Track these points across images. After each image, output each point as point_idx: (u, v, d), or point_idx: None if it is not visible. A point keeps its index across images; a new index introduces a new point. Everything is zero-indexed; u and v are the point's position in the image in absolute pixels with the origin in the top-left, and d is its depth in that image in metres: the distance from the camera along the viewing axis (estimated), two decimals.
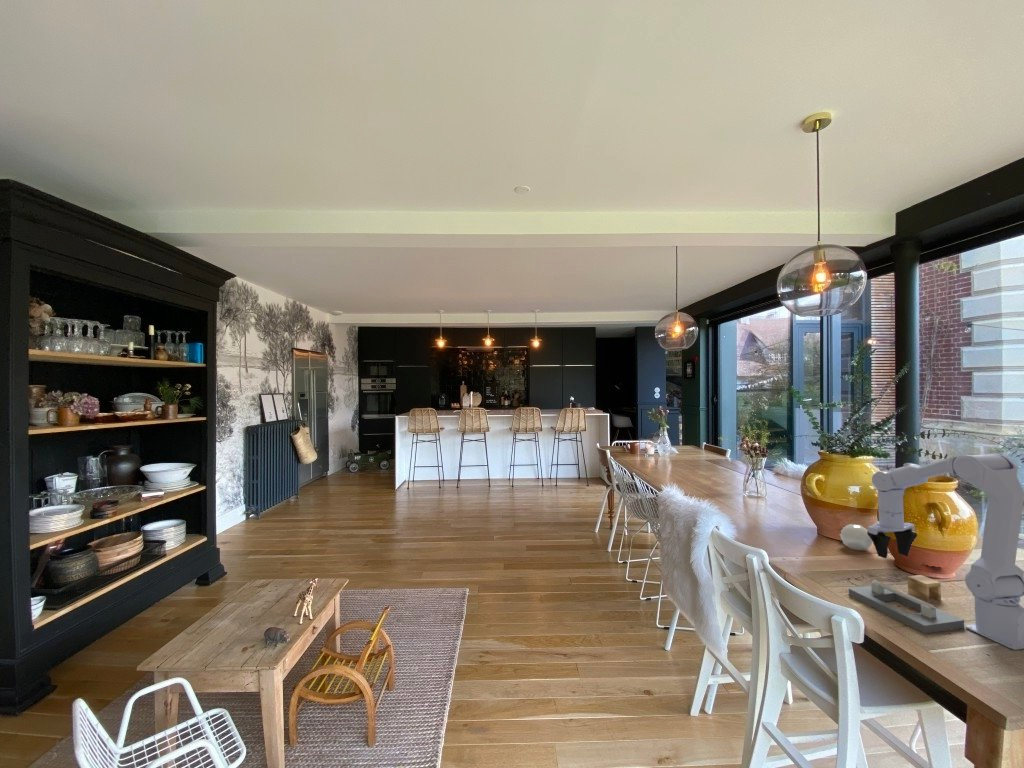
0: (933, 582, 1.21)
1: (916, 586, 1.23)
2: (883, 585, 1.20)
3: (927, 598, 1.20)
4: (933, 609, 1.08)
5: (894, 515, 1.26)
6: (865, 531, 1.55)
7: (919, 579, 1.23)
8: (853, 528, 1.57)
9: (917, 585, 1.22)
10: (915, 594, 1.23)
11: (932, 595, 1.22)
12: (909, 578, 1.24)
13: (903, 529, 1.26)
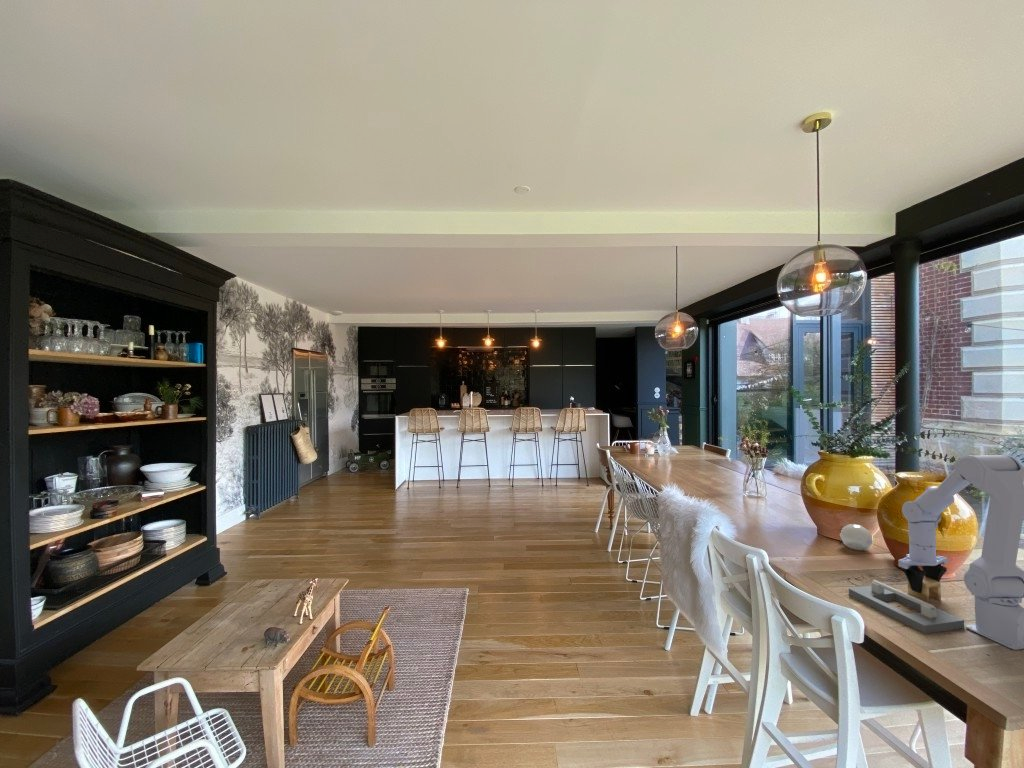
0: (933, 582, 1.21)
1: None
2: (883, 585, 1.20)
3: (927, 598, 1.20)
4: (933, 609, 1.08)
5: (926, 549, 1.20)
6: (865, 531, 1.55)
7: None
8: (853, 528, 1.57)
9: None
10: (915, 594, 1.23)
11: (932, 595, 1.22)
12: None
13: (936, 563, 1.20)
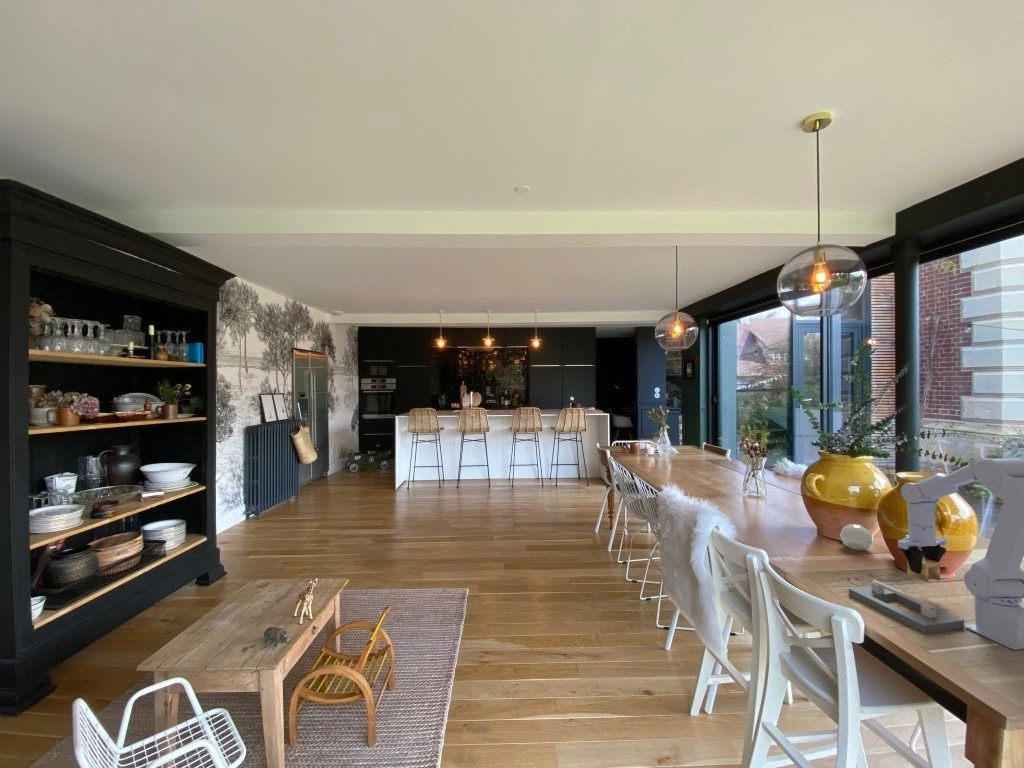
0: (932, 562, 1.21)
1: None
2: (883, 585, 1.20)
3: (926, 578, 1.20)
4: (933, 609, 1.08)
5: (925, 529, 1.21)
6: (865, 531, 1.55)
7: None
8: (853, 528, 1.57)
9: None
10: (914, 575, 1.23)
11: (932, 576, 1.22)
12: None
13: (935, 544, 1.20)
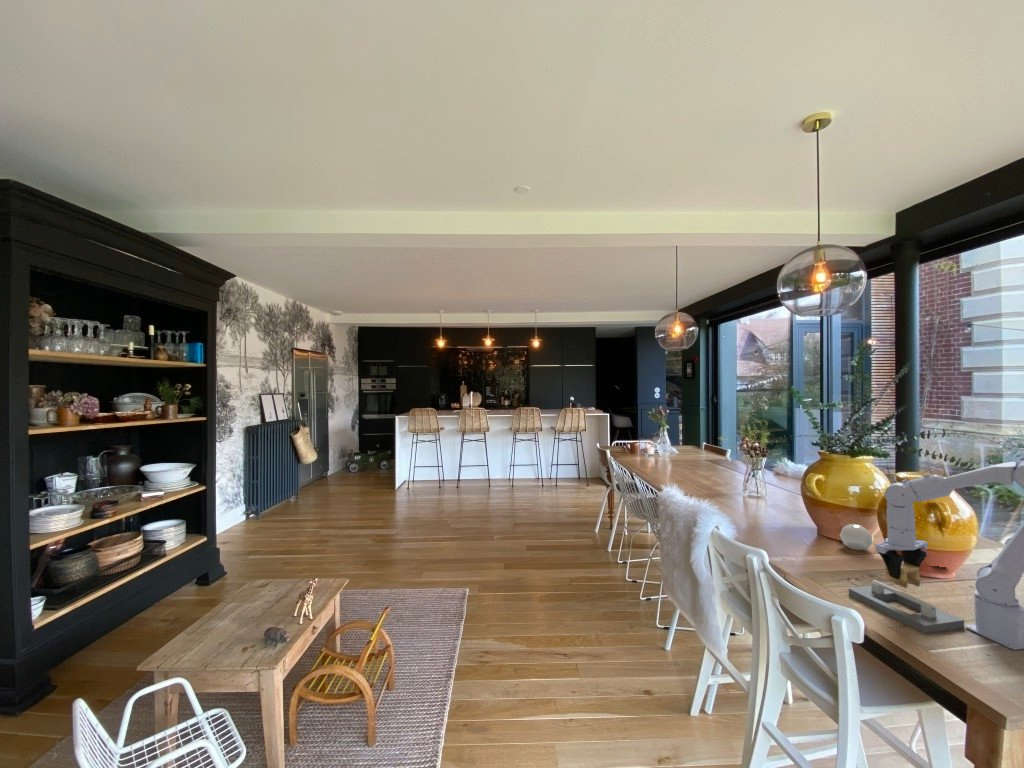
0: (911, 567, 1.15)
1: None
2: (883, 585, 1.20)
3: (905, 584, 1.14)
4: (933, 609, 1.08)
5: (905, 532, 1.14)
6: (865, 531, 1.55)
7: None
8: (853, 528, 1.57)
9: None
10: (893, 580, 1.17)
11: (911, 581, 1.16)
12: None
13: (915, 548, 1.14)
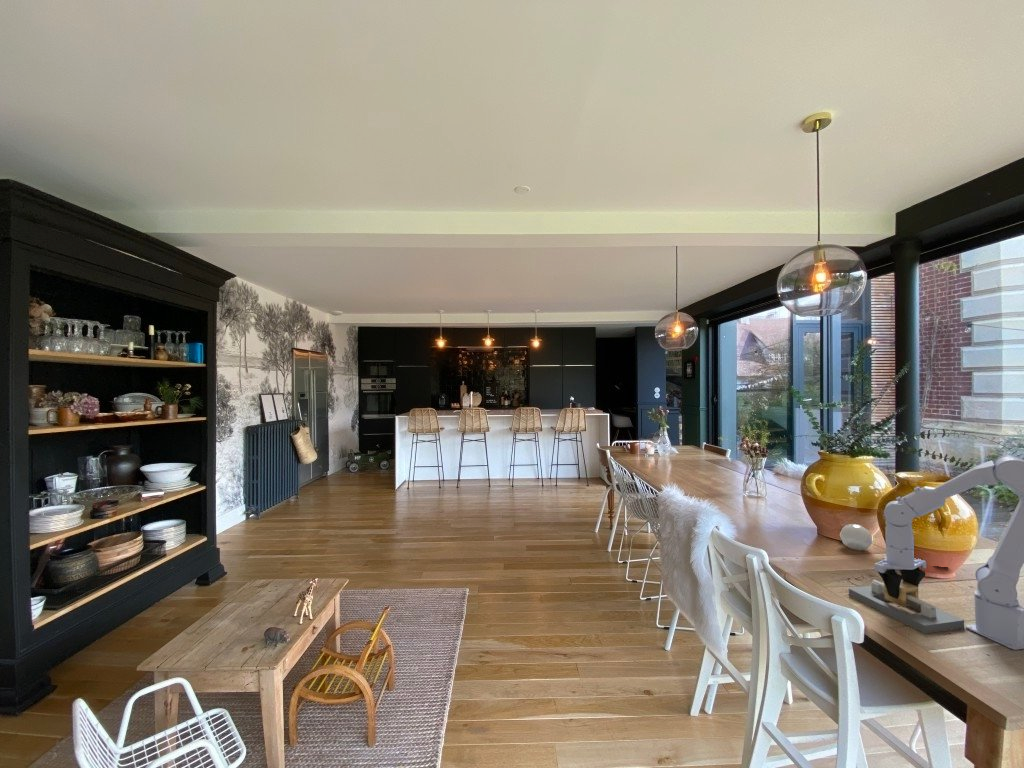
0: (910, 587, 1.14)
1: None
2: (883, 585, 1.20)
3: (904, 604, 1.13)
4: (933, 609, 1.08)
5: (903, 552, 1.13)
6: (865, 531, 1.55)
7: None
8: (853, 528, 1.57)
9: None
10: (892, 599, 1.16)
11: (910, 601, 1.15)
12: None
13: (913, 567, 1.13)
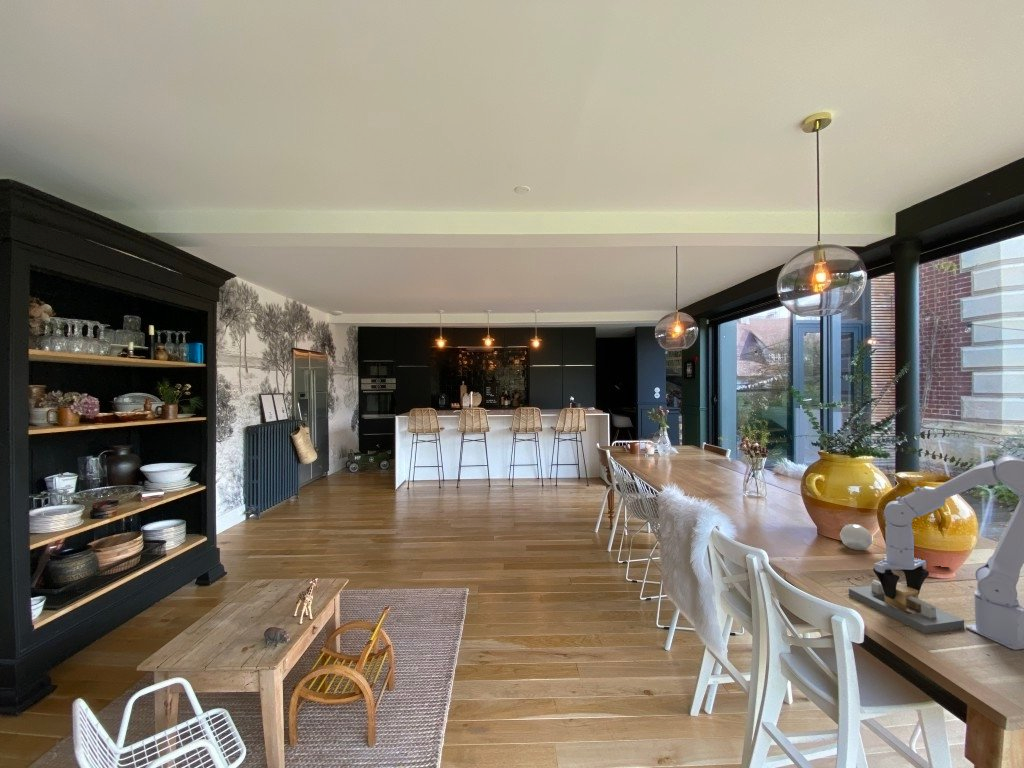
0: (910, 590, 1.14)
1: None
2: None
3: (904, 607, 1.13)
4: (933, 609, 1.08)
5: (903, 551, 1.13)
6: (865, 531, 1.55)
7: (896, 587, 1.16)
8: (853, 528, 1.57)
9: None
10: (892, 603, 1.16)
11: (910, 604, 1.15)
12: None
13: (913, 567, 1.13)
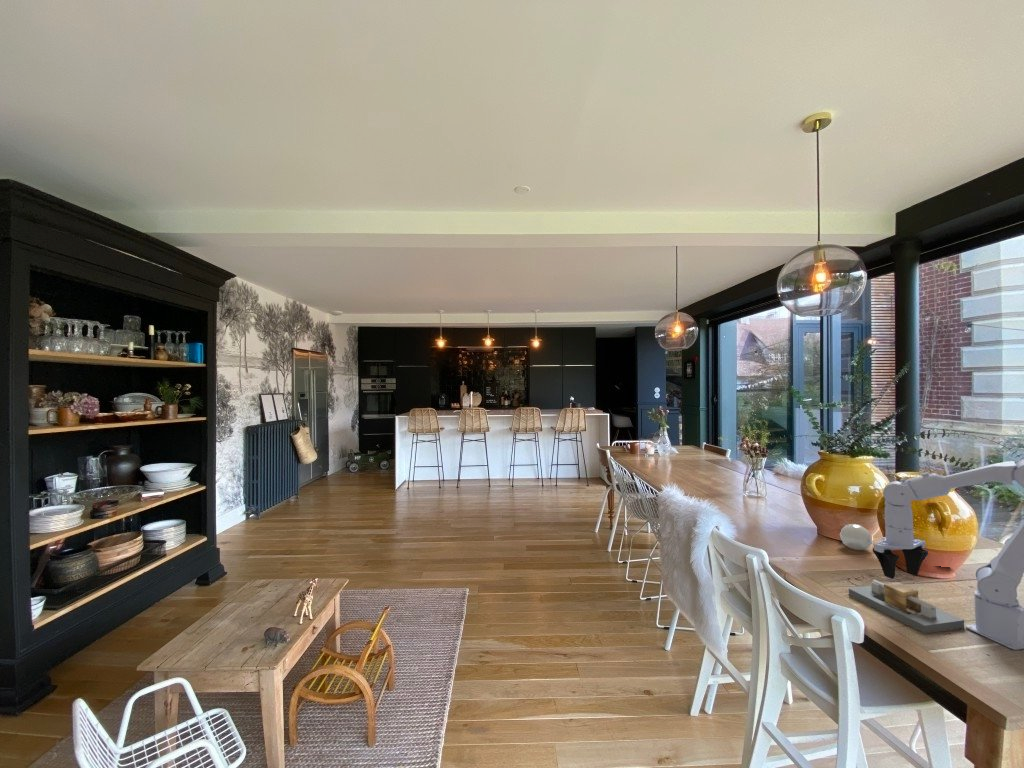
0: (910, 590, 1.14)
1: (893, 595, 1.16)
2: (883, 585, 1.20)
3: (904, 607, 1.13)
4: (933, 609, 1.08)
5: (903, 531, 1.14)
6: (865, 531, 1.55)
7: (896, 588, 1.16)
8: (853, 528, 1.57)
9: (894, 594, 1.15)
10: (892, 603, 1.16)
11: (910, 604, 1.15)
12: (886, 586, 1.17)
13: (913, 547, 1.13)
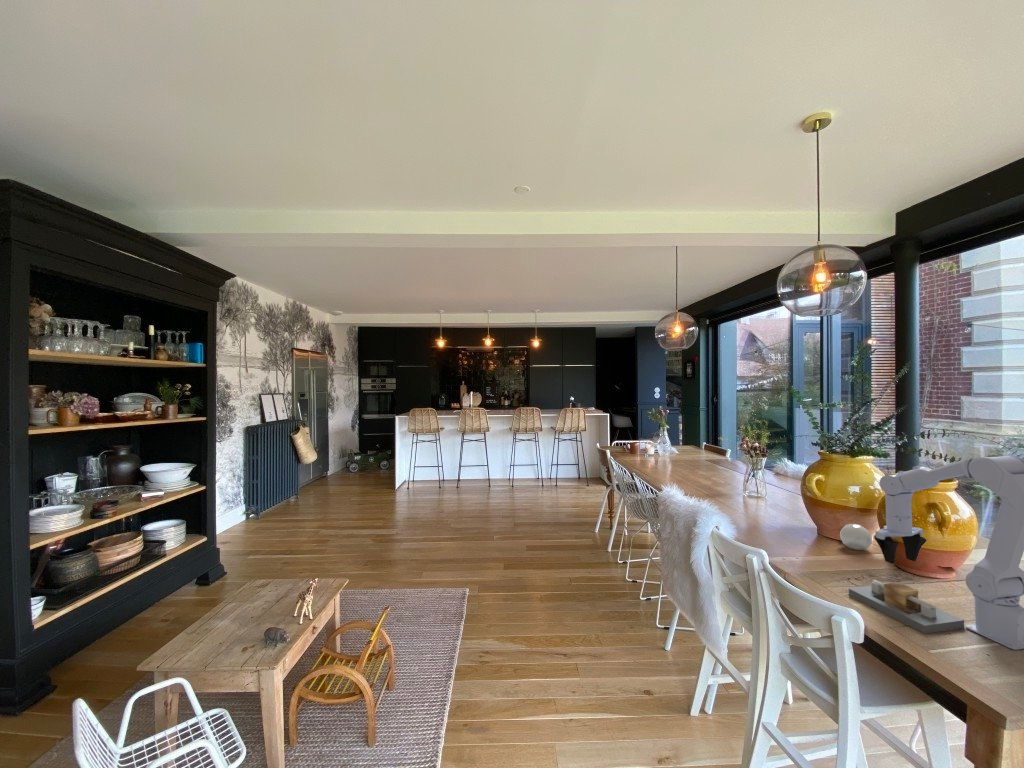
0: (910, 590, 1.14)
1: (893, 594, 1.16)
2: (883, 585, 1.20)
3: (904, 607, 1.13)
4: (933, 609, 1.08)
5: (902, 520, 1.23)
6: (864, 531, 1.55)
7: (896, 587, 1.16)
8: (853, 527, 1.57)
9: (894, 593, 1.15)
10: (892, 603, 1.16)
11: (910, 604, 1.15)
12: (886, 586, 1.17)
13: (911, 534, 1.23)
